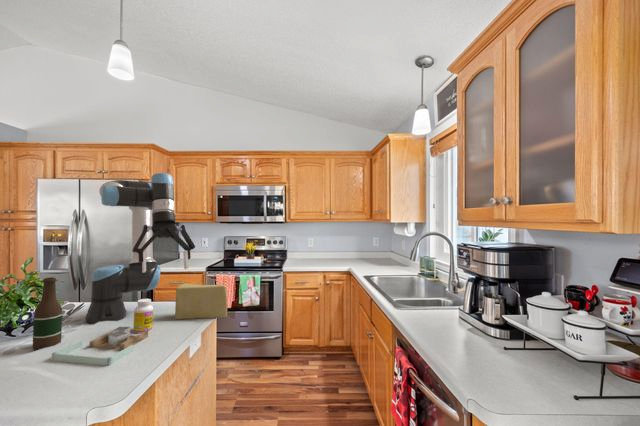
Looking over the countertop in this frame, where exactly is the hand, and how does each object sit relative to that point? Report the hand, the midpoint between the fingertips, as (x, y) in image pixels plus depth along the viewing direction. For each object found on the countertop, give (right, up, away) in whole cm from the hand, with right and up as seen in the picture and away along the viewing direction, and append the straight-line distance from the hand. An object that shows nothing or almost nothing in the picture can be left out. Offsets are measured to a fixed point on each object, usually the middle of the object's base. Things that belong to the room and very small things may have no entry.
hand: (166, 270), depth 108 cm
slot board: (-18, -27, +2) cm, 33 cm away
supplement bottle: (-16, -28, +14) cm, 35 cm away
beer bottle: (-41, -27, -1) cm, 49 cm away
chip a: (-19, -26, +4) cm, 32 cm away
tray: (-19, -27, -9) cm, 34 cm away
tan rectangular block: (0, -29, +34) cm, 45 cm away
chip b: (-16, -26, -1) cm, 31 cm away
